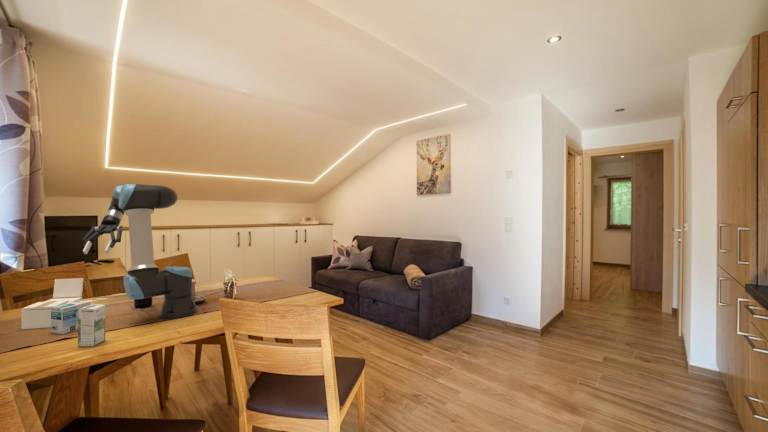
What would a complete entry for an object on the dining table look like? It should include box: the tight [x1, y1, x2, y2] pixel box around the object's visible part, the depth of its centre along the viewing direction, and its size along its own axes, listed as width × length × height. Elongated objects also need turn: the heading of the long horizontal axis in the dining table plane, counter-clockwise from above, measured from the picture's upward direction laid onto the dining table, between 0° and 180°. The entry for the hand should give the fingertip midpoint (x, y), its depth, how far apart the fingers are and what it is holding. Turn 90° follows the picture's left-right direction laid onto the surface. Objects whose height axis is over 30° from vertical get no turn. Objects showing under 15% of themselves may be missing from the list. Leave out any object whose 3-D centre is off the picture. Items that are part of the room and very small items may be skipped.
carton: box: [20, 296, 83, 330], centre depth 147 cm, size 18×12×9 cm, turn 16°
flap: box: [52, 277, 85, 299], centre depth 157 cm, size 9×11×1 cm
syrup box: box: [77, 303, 107, 347], centre depth 125 cm, size 6×6×14 cm
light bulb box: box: [50, 300, 91, 335], centre depth 138 cm, size 11×7×11 cm, turn 168°
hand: (95, 252), depth 165 cm, fingers open, 9 cm apart
